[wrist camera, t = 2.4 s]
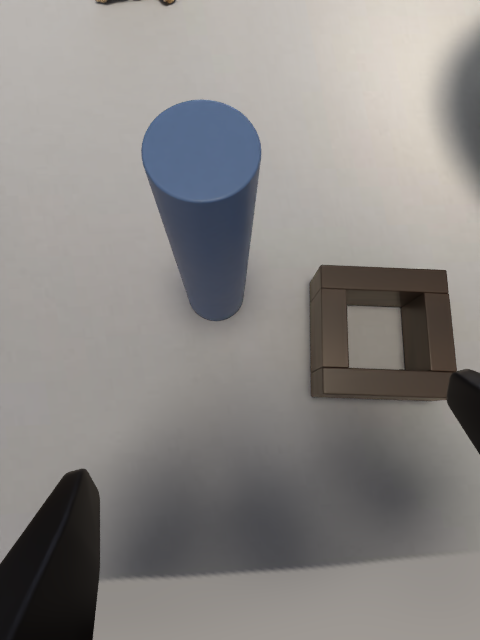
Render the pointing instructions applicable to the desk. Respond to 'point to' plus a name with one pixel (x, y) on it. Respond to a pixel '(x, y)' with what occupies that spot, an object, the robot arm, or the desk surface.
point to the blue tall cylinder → (206, 197)
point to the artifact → (167, 0)
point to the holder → (417, 322)
